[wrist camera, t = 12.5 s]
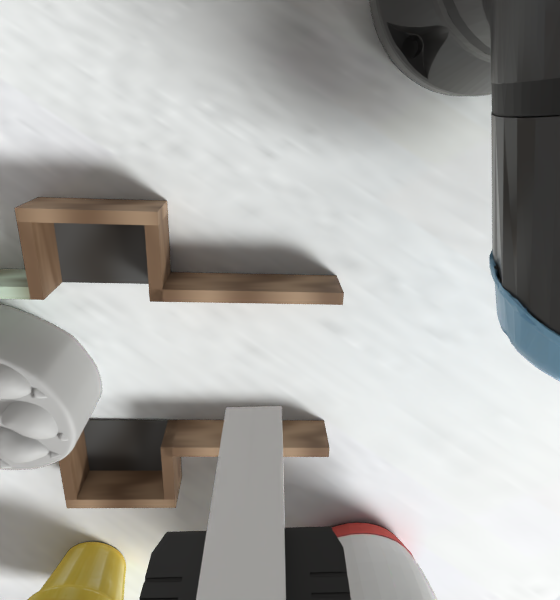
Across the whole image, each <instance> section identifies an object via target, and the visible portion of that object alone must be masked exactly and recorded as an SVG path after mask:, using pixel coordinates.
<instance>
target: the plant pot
mask: <svg viewBox="0 0 560 600" xmlns="http://www.w3.org/2000/svg"><path fill="white" fill-rule="evenodd" d="M125 572H126V563H125V560H124V557H123V556H122V554H121V553H120V552H119V551H118V550H117V549H115V548H114V547H112V546H110V545H107V544H105V543H100V542H84V543H80V544H78V545H76V546H74V547H72V548H71V549H70V550H69V551H68V552H67V553H66V555H65V556H64V558H63V559H62V560H61V562H60V563H59V565H58V566H57V568H56V569H55V570H54V572H53V573H52V574H51V576H50V577H49V579H48V580H47V581H46V583H45V584H44V585H43V587H42V588H41V590H40V591H39V592H37V593H35V594H34V595H32V596H31V597H30V598H29V599H28V600H123V599H124V584H125Z"/></svg>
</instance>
